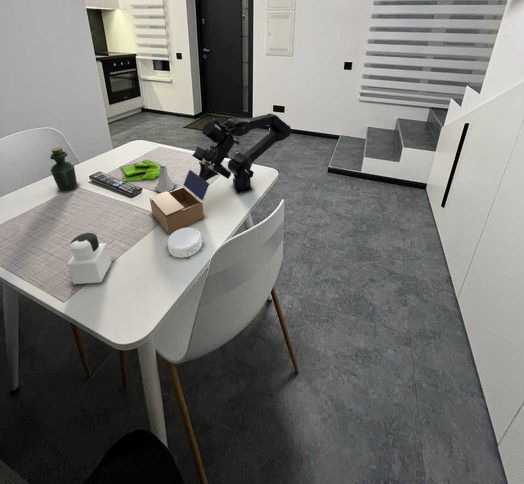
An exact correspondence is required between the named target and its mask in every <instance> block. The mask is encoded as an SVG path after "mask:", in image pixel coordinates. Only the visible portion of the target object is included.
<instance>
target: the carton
mask: <svg viewBox="0 0 524 484" xmlns="http://www.w3.org/2000/svg"><path fill="white" fill-rule="evenodd" d="M149 203H150V209H151V215H152V216H153V217H154V218H155V219H156V220H157V222H158V223H159V224H160V226H162V228H163V229H164V231H166V232H167V234H168V235H171V234H172V233H173V232H175V231H176V230H179V229H181V228H186V227H187V226H189V225H191V224H193V223H196V222H198V221H200V220H202V219H204V217H205V215H204V205H203V202H202V200H201V199H199V198H198V197H197V196H196V195H195V194H193V193H192V192H191V191H190V190H189V189H188V188H186V187H185V186H182V187H181V186H180V187H179V188H175V189H172V190H171V191H169V192H168V191H165V192H159V193H157V194H154V195H152V196H150V197H149Z"/></svg>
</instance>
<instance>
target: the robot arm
mask: <svg viewBox="0 0 524 484" xmlns="http://www.w3.org/2000/svg"><path fill="white" fill-rule="evenodd" d="M264 127H269V130H268V133H267V134H266V135H264V136H263V137H262V138H261V139H260V140H259V141H257V142H256V143H254V145H252V147H251V148H249V149H247V150H246V151H245V152H244V153H242V152H241V153H240V152H239V151H238V152H236V153H235V154H234V155H232V156H231V157H230V156H229V155H228V154H229V153H230V151H231V149H232V148H233V147H234V145H237V146H240V140H239V139H240V138H239V137H242V136H243V137H244V136H245V135H247V134H249V132H250V131H253V130H256V129H260V128H264ZM201 133H202V135H203V136H204V137H206V138H207V139H208V140H210V141H212V142H213V143H215V144H214V145H213V144H212V145H210V146H209V147H206V146H200V145H197V146H196V148H195V151H194V152H193V154H192V155H191V156H192V157H193V158H195V159H196V160H197V161H198V164H199V168H200V170H199V173H198V176H200V177H201V178H202V179H204V180H205V181H206V182H208V181H209V180H210V179H212V178H213V177H215V176H219V175H221V176H222V177H224V178H225V179H227V180H229V179H230V177H231V176H232V174H233V178H232V187H233V189H234V190H235V192H236V193H237V194H240V193H245V192H251V191H252V190H253V188H252V187H251V178H253V177H254V174H255V173H254V170H252V166H253V163H254V162H255V161H256V160H257V159H258V158H260V156H262V155H263V154H264V153H265V152H266V151H267V150H269V149H270V148H271V147H273V145H274V144H276V143H278V142H281V141H284V140H286V139H287V138H289V137H290V136H291V134H292V129H291V125H289V124H287V123H286V122H284V121H283V120H282V119H281V118H280V117H279V116H278V115H276V114H274V113H267V114H262V115H259V116H254V117H249V118H240V117H231V118H229V119H228V120H227V121H225V122H224V123H220V122H219V121H218V120H217V119H214V118H213V119H212V120H211V121H209V122H207V123H206V124H204V126H203V127H202V130H201ZM229 157H230V159H229V160H228V161H227V167H225V166H223V164H222V163H223V162H224V160H225V158H226V159H228V158H229Z"/></svg>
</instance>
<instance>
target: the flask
mask: <svg viewBox="0 0 524 484" xmlns="http://www.w3.org/2000/svg"><path fill="white" fill-rule="evenodd" d="M159 166H160V167H158V169H159V172H160V174H159V176H158V181H157V186H156V189H155V191H156V192H159V193H163V192H165V191H168V192H171V191H173V190H175V189H174V188H175V183H174V182H173V180H172V179H171V177H170V175H169V173H168V171H167V168H168V166H167V165H159Z"/></svg>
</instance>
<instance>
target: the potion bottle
mask: <svg viewBox="0 0 524 484" xmlns="http://www.w3.org/2000/svg"><path fill="white" fill-rule="evenodd" d="M50 151H51V152H52V153H51V154H50V156H49V157H50V160H51V161H52V160H53V161H55V164H53V165H52V166H51V168H50V173H51V175H52V177H53V179H54V181H55V184H56V186H57V188H58V190H59V191H60V192H64V193H65V192H70V191H72V190H75V189H76V188H77V187H78V182H77V175H76V170H75V164H74V163H73V162H71V161H66V158H67V157H68V152H66V151H63V147H62V146H56V147H53V148H51V149H50Z"/></svg>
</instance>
